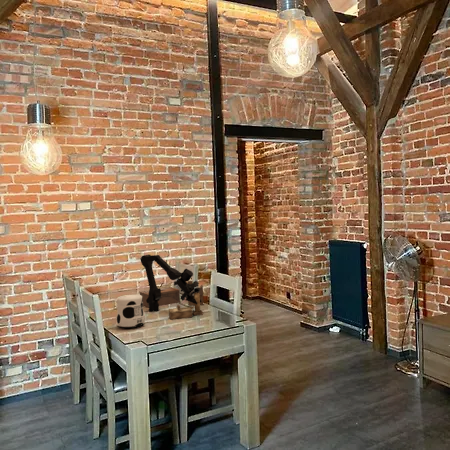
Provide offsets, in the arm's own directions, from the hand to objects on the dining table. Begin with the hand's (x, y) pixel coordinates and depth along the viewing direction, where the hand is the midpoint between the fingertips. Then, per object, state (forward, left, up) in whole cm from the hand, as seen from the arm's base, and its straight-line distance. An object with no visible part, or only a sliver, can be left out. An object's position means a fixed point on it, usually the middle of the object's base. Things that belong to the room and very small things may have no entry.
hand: (199, 303), depth 295 cm
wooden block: (+3, +28, -8) cm, 29 cm away
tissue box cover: (-21, +45, -8) cm, 50 cm away
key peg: (-1, +1, -8) cm, 8 cm away
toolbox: (-9, -1, -8) cm, 12 cm away
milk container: (-45, -11, -8) cm, 47 cm away
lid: (-12, -2, -3) cm, 12 cm away
